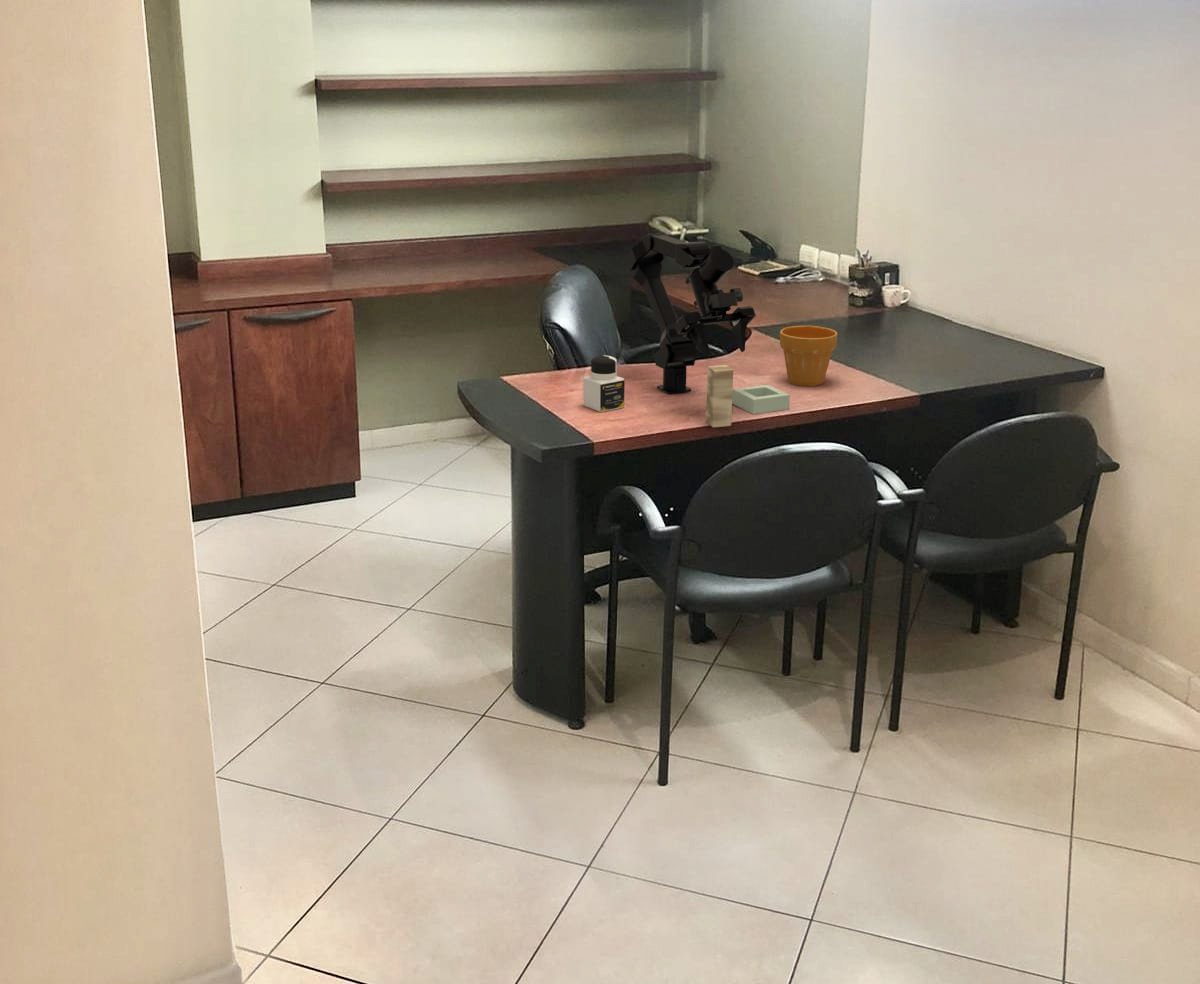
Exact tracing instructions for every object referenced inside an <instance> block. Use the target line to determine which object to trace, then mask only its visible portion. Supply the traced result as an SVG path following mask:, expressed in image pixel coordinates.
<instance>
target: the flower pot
mask: <svg viewBox="0 0 1200 984" xmlns="http://www.w3.org/2000/svg"><path fill="white" fill-rule="evenodd" d="M837 343H838V332H837V331H836V330H834V329H832V328H828V327H823V326H819V325H818V326H816V325H792V326H786V327H783V328H782V329H781V330H780V331H779V347H780V348H781V349H782V350H783V355H784V363H785V368H786V374H787V379H788V382H789V383H790V384H792V385H795V386H800V387H816V386H817V387H818V386H820V385H822V384H824V381H825V379H826V376H827V375H826V374H827V371H828V369H829V364H830V360H831V357H832V353H833V351H835V350H836V348H837Z"/></svg>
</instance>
